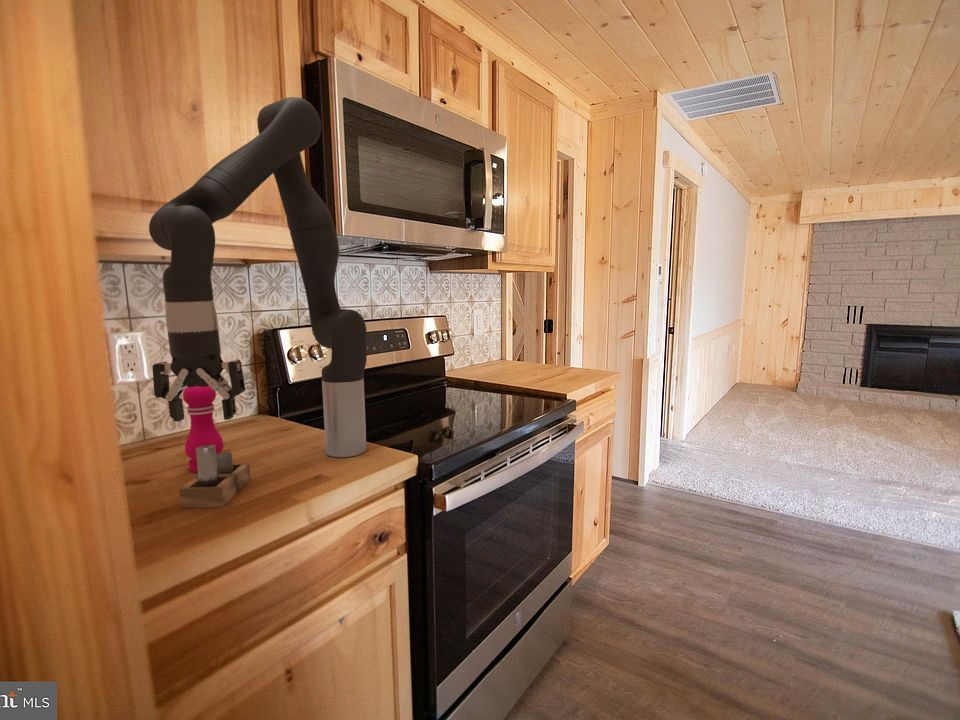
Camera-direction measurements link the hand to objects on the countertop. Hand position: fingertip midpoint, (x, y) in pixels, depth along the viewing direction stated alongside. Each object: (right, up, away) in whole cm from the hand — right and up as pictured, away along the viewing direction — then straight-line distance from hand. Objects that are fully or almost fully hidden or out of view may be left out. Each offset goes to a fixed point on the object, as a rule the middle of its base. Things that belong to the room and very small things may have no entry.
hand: (204, 419), depth 85 cm
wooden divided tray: (0, -14, +5) cm, 15 cm away
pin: (0, -15, +2) cm, 15 cm away
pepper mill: (-10, -13, +18) cm, 25 cm away
